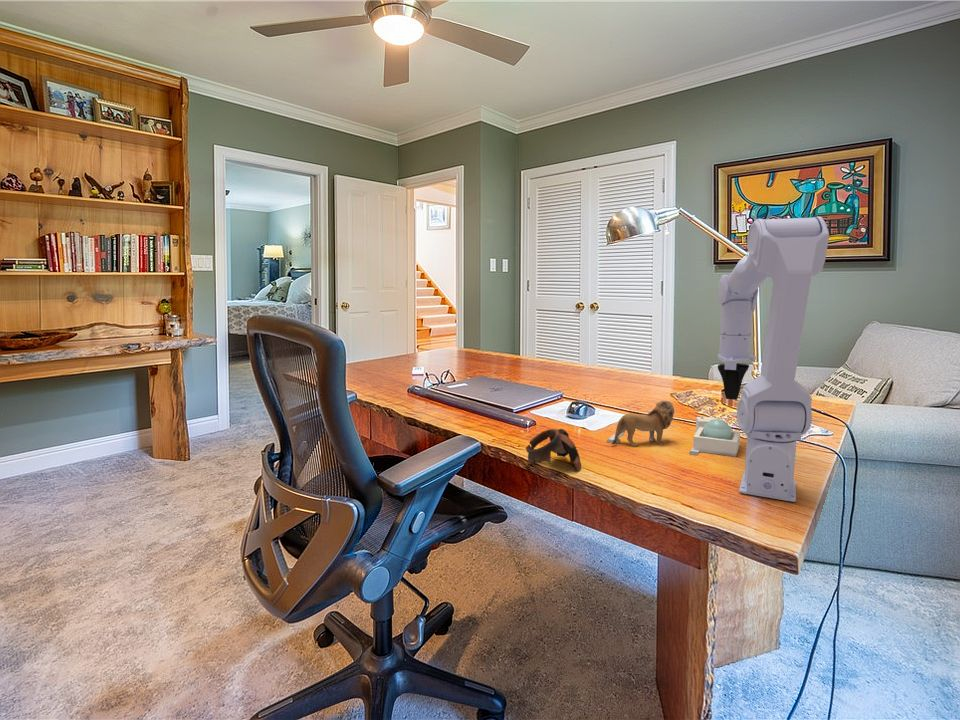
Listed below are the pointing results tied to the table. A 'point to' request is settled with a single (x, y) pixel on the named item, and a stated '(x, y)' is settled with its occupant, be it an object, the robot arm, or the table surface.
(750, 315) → the robot arm
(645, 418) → the lion figurine
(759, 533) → the table surface
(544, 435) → the brown twisted loop
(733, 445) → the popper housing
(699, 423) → the die
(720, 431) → the dome plunger
